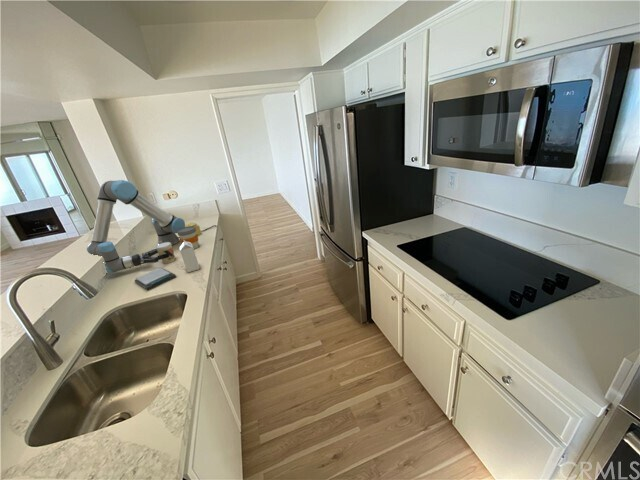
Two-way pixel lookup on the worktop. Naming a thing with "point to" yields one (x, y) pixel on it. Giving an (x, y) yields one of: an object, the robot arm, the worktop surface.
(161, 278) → the scale
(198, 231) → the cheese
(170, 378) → the worktop surface
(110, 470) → the worktop surface
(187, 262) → the milk carton
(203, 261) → the worktop surface
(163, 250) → the coffee cup
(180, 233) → the reusable coffee cup
